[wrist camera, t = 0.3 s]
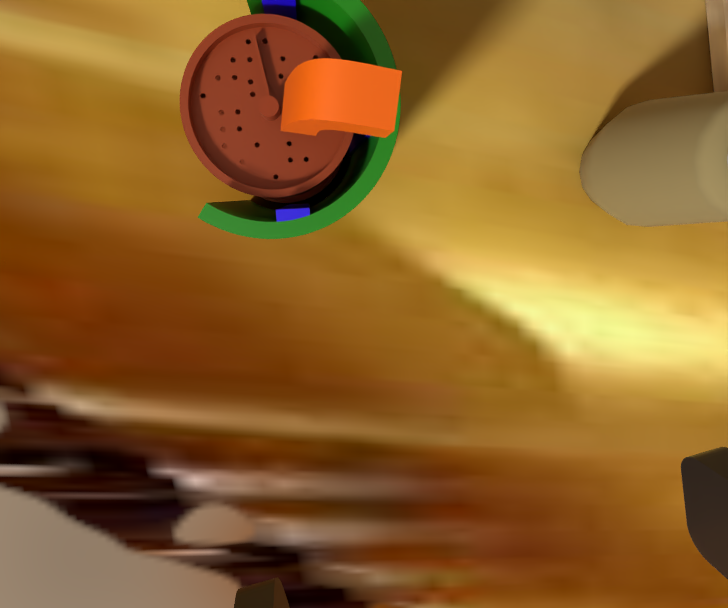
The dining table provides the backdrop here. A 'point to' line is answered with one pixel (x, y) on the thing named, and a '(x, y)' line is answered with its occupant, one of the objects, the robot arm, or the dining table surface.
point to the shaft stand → (718, 42)
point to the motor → (292, 112)
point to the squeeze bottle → (662, 162)
